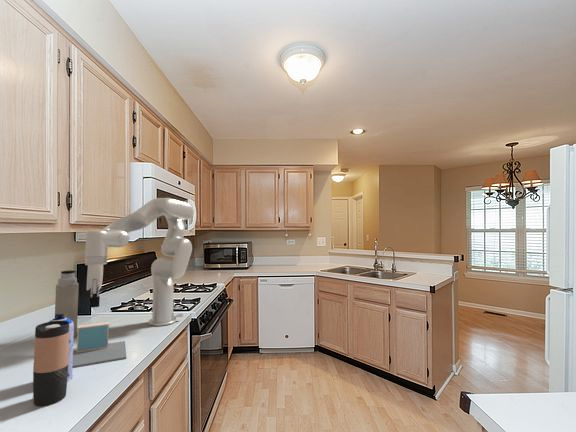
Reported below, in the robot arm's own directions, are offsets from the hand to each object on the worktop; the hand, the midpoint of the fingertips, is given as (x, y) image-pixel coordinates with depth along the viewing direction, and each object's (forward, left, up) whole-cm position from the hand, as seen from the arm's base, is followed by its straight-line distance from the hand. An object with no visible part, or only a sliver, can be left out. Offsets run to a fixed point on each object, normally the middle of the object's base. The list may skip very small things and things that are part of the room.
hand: (94, 306), depth 126 cm
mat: (0, +12, -15) cm, 19 cm away
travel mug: (+8, +41, -15) cm, 44 cm away
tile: (0, +7, -14) cm, 16 cm away
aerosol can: (+8, +29, -15) cm, 34 cm away
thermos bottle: (+11, -16, -15) cm, 25 cm away
